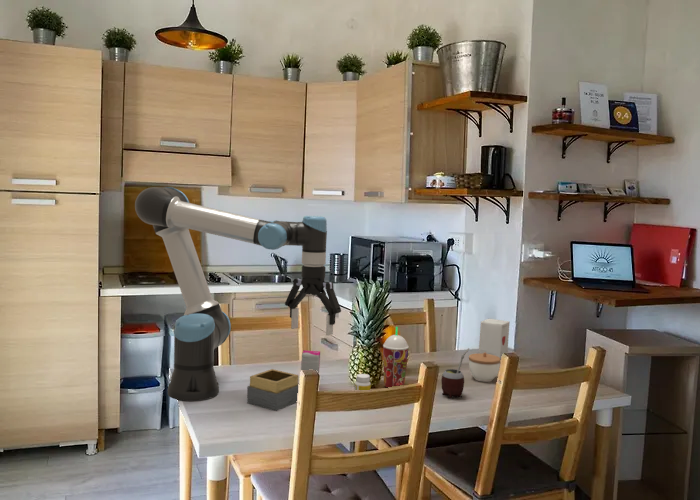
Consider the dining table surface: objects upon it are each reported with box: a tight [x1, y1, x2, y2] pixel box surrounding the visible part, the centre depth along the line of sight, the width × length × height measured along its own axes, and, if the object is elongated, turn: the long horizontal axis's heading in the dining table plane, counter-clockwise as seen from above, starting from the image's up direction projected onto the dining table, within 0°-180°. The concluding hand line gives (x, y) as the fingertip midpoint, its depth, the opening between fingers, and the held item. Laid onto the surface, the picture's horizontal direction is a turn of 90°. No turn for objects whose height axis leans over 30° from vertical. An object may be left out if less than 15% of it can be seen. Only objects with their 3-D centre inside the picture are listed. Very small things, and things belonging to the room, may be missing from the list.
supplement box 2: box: [478, 318, 510, 359], centre depth 246 cm, size 9×9×15 cm
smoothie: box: [382, 326, 410, 388], centre depth 205 cm, size 8×8×20 cm
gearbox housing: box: [246, 368, 299, 412], centre depth 186 cm, size 11×11×8 cm
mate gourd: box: [440, 347, 470, 400], centre depth 198 cm, size 8×8×15 cm
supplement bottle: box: [354, 373, 372, 391], centre depth 189 cm, size 5×5×8 cm
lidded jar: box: [468, 352, 501, 383], centre depth 218 cm, size 11×11×9 cm
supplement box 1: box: [300, 349, 321, 374], centre depth 201 cm, size 6×6×12 cm
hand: (311, 331), depth 200 cm, fingers open, 13 cm apart
